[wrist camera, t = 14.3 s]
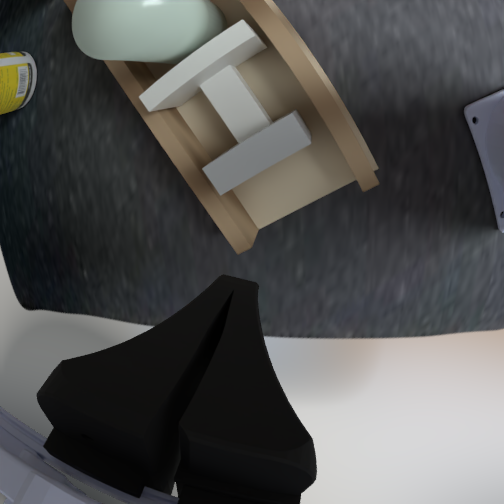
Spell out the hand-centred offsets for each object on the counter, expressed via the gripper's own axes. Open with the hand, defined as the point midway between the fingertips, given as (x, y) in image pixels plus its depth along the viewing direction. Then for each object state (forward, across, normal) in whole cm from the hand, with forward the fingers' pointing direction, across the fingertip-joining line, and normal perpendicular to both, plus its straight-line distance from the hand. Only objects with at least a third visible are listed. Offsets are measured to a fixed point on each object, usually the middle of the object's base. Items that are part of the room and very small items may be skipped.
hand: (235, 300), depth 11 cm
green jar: (+10, +7, -10) cm, 15 cm away
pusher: (+9, +3, -6) cm, 11 cm away
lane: (+10, +5, -9) cm, 15 cm away
